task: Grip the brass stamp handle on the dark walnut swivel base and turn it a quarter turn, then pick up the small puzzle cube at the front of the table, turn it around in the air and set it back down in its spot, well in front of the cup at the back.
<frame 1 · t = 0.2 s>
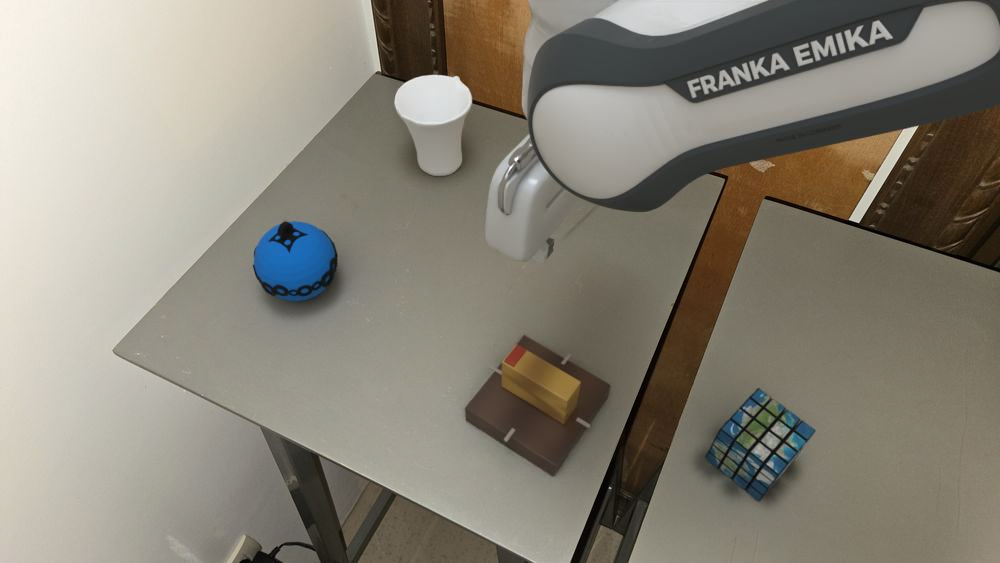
hand: (569, 219, 64), 18 cm above the table, tool pointing down, fingers open, 8 cm apart
puzzle: (749, 459, 70), on the table
stamp: (539, 383, 69), point 5 cm above the table, hinge at 0.0°
ornament: (304, 286, 82), on the table
stamp base: (537, 408, 73), on the table
cup: (439, 160, 94), on the table
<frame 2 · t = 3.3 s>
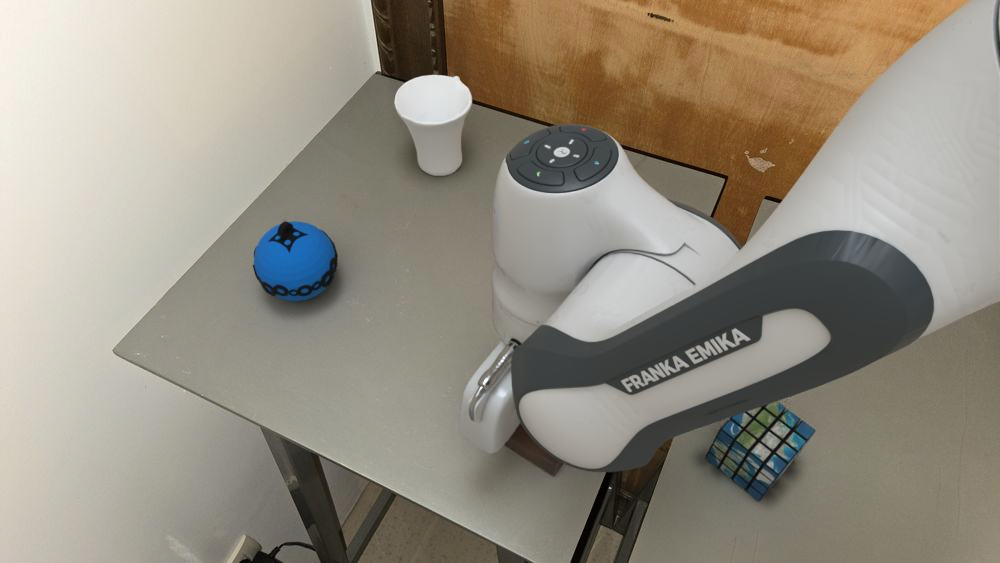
hand: (539, 388, 70), 4 cm above the table, tool pointing down, fingers closed on stamp, 2 cm apart
stamp: (539, 383, 69), point 5 cm above the table, hinge at 0.0°, touching gripper
everything else where it was.
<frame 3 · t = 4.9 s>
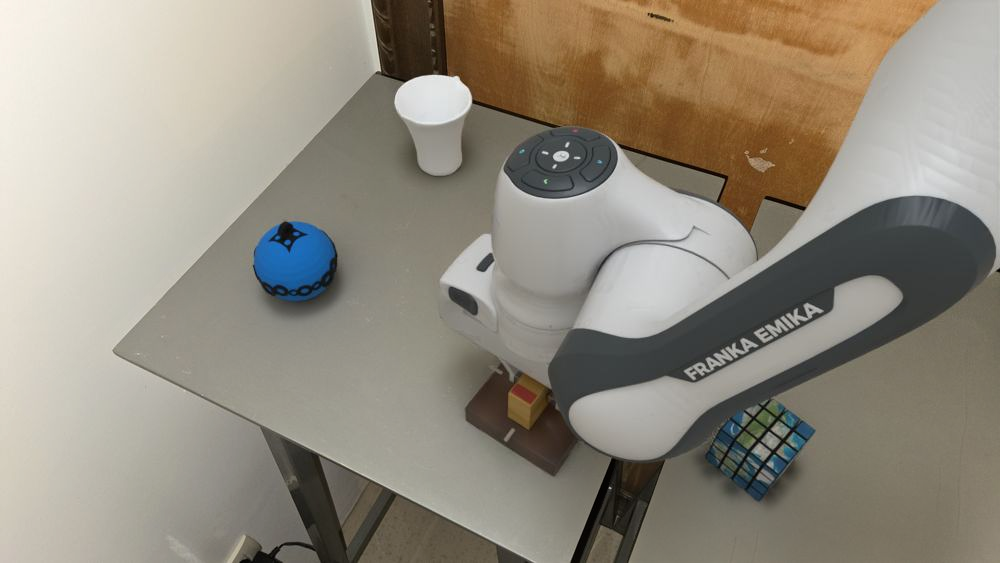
hand: (539, 390, 70), 4 cm above the table, tool pointing down, fingers open, 3 cm apart
stamp: (539, 383, 69), point 5 cm above the table, hinge at 89.8°
everything else where it was.
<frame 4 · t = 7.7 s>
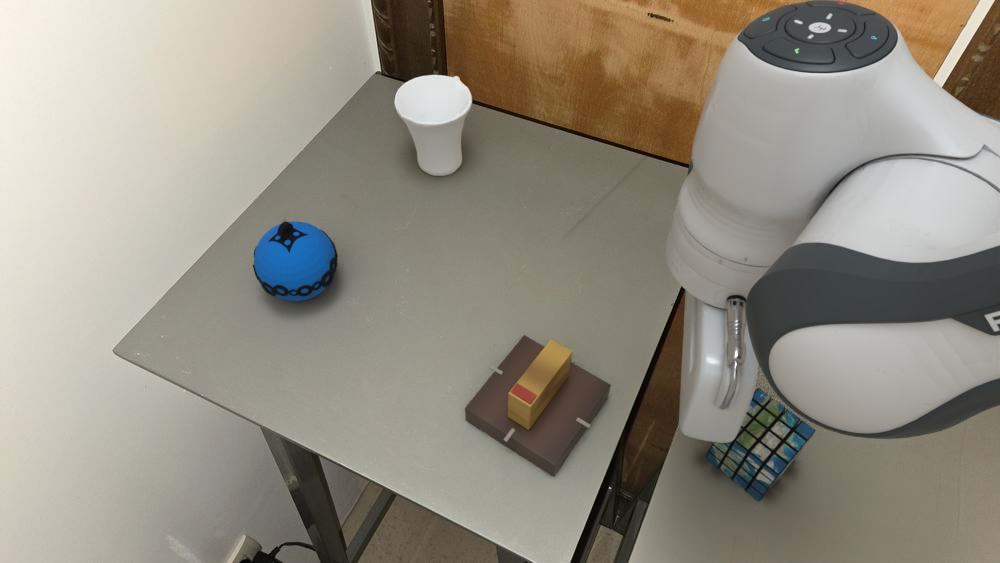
hand: (694, 356, 60), 15 cm above the table, tool pointing down, fingers open, 8 cm apart
nothing on the table moved.
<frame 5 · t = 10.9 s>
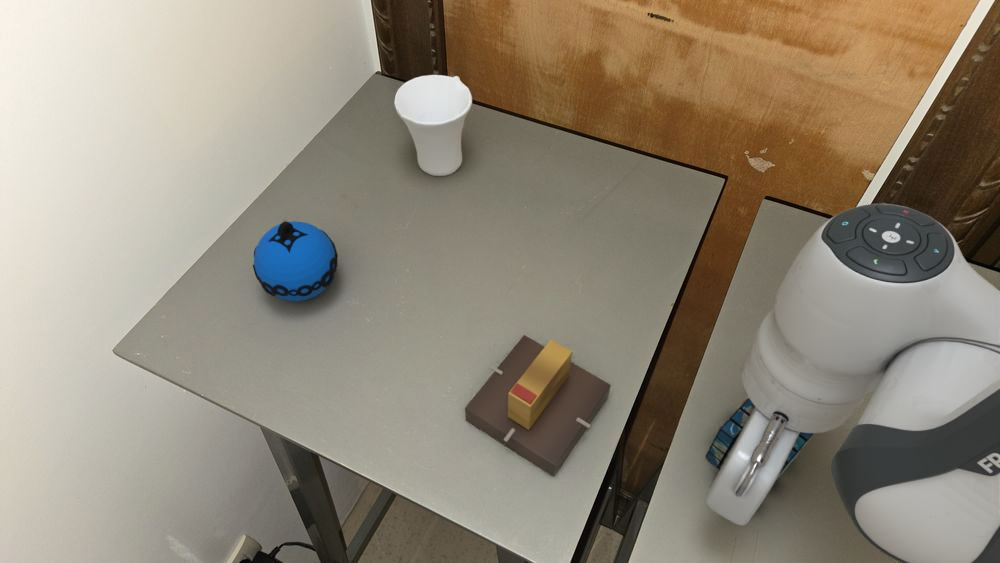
hand: (755, 449, 69), 2 cm above the table, tool pointing down, fingers closed on puzzle, 6 cm apart
puzzle: (748, 459, 70), on the table, touching gripper
everything else where it was.
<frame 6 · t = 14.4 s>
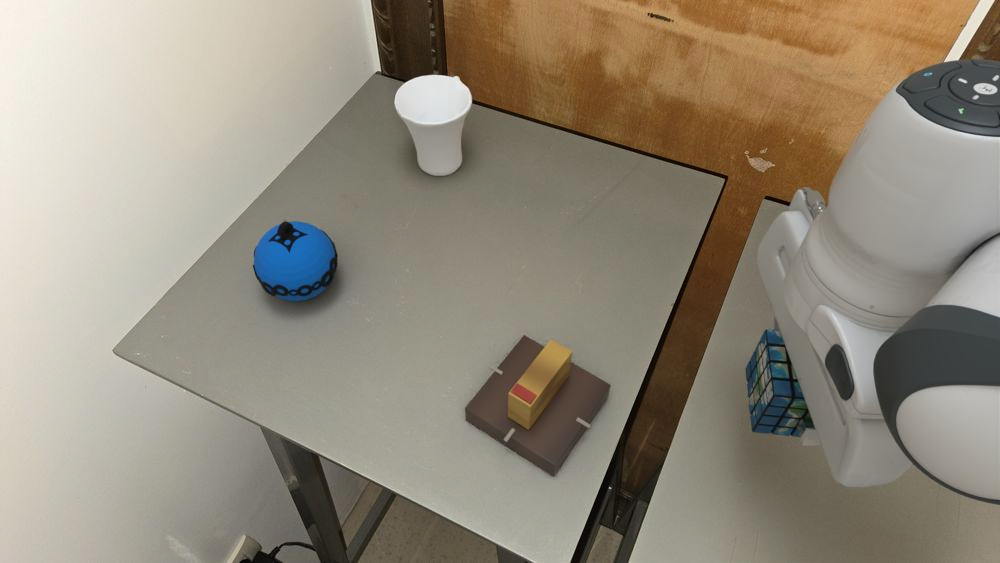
hand: (792, 392, 60), 13 cm above the table, tool pointing down, fingers closed on puzzle, 6 cm apart
puzzle: (784, 404, 61), point 11 cm above the table, touching gripper
everything else where it was.
when the fingers open (2 cm above the table, at t = 18.5 s): puzzle stays where it is, on the table.
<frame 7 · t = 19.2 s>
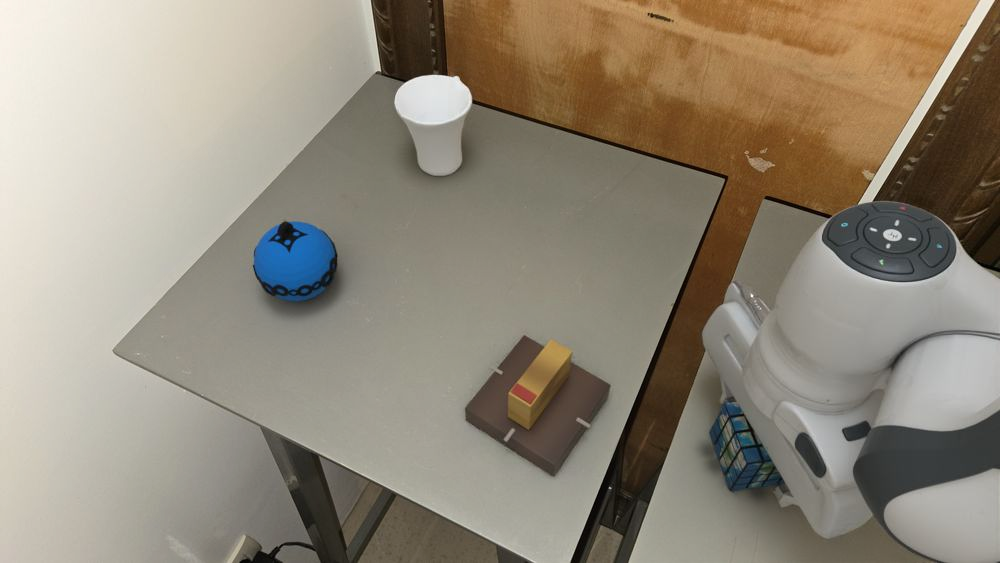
hand: (756, 450, 68), 2 cm above the table, tool pointing down, fingers open, 8 cm apart
puzzle: (748, 457, 70), on the table
everything else where it was.
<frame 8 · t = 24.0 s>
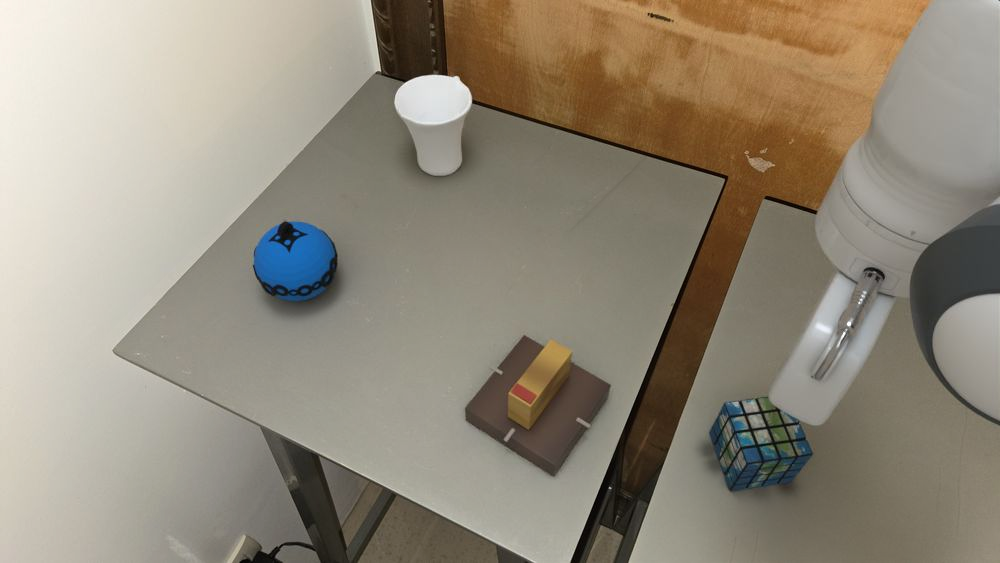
hand: (819, 348, 55), 19 cm above the table, tool pointing down, fingers open, 8 cm apart
nothing on the table moved.
at the end: stamp at +90° (first picture: +0°); puzzle tilted 0° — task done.
